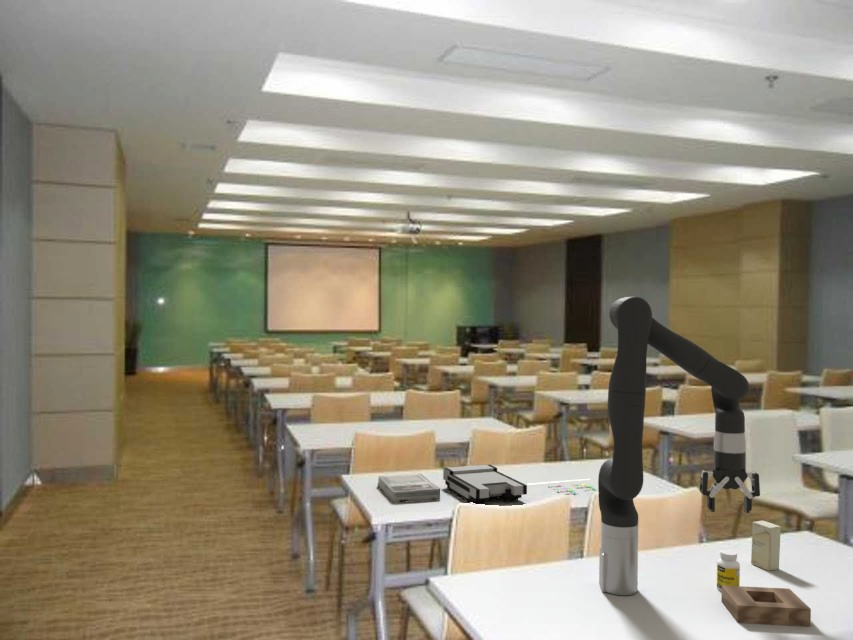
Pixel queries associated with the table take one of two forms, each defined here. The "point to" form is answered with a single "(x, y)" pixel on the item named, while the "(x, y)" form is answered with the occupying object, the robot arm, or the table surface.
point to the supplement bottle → (728, 569)
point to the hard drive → (408, 487)
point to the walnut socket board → (765, 606)
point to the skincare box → (765, 545)
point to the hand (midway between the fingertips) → (729, 511)
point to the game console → (482, 483)
